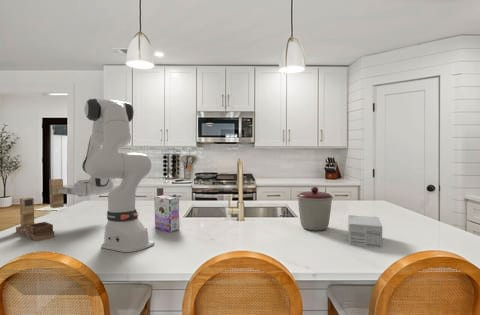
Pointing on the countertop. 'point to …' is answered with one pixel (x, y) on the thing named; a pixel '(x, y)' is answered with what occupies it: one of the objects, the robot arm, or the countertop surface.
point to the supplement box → (365, 231)
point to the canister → (314, 209)
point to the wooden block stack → (32, 222)
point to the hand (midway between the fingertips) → (54, 191)
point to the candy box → (167, 213)
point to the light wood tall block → (55, 197)
